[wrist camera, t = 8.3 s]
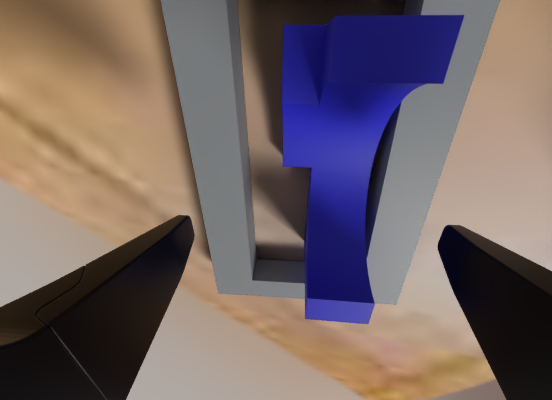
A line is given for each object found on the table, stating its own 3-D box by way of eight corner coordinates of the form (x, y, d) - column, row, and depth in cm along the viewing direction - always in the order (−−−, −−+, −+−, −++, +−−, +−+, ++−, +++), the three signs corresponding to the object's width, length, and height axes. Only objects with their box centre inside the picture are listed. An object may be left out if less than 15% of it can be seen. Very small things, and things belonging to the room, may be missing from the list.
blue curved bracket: (287, 29, 12) (276, 15, 6) (390, 29, 11) (464, 15, 6) (282, 238, 18) (274, 316, 13) (348, 242, 17) (368, 324, 12)
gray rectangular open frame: (488, -63, 9) (529, -87, 8) (387, 281, 19) (396, 304, 17) (173, -46, 10) (148, -64, 9) (225, 271, 20) (218, 293, 18)
